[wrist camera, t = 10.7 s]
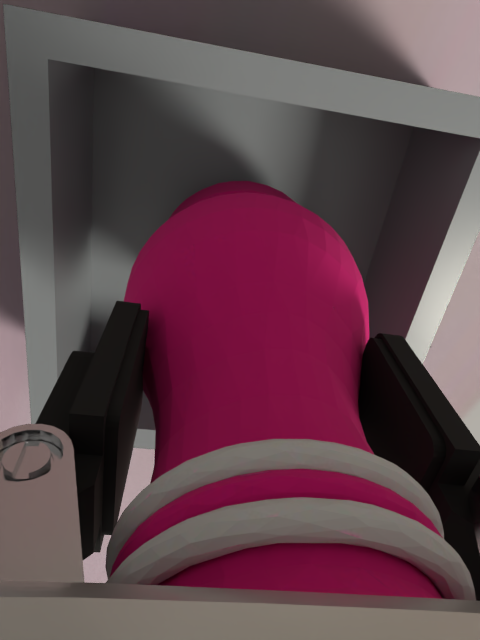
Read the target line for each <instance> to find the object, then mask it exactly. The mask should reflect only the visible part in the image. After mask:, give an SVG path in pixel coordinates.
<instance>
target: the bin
mask: <svg viewBox="0 0 480 640" xmlns="http://www.w3.org/2000/svg"><path fill="white" fill-rule="evenodd" d="M3 10H4V25H5V40H6V55H7V70H8V85H9V100H10V114H11V129H12V144H13V159H14V174H15V189H16V204H17V219H18V233H19V248H20V263H21V278H22V293H23V308H24V323H25V338H26V352H27V367H28V382H29V397H30V412H31V424H35V423H36V421H37V419H38V417H39V415H40V413H41V411H42V409H43V407H44V406H45V404H46V402H47V400H48V398H49V396H50V394H51V392H52V390H53V388H54V386H55V384H56V382H57V380H58V378H59V376H60V374H61V372H62V370H63V368H64V366H65V364H66V362H67V360H68V358H69V356H70V354H71V353H72V351H83V352H92V353H95V351H96V348H97V346H98V343H99V341H100V339H101V336H102V334H103V332H104V329H105V327H106V325H107V322H108V320H109V317H110V315H111V313H112V310H113V308H114V306H115V303H116V301H124V297H125V293H126V288H127V283H128V280H129V276H130V273H131V269H132V267H133V264H134V262H135V260H136V258H137V256H138V254H139V252H140V251H141V249H142V248H143V246H144V245H145V244H146V242H147V241H148V239H149V238H150V237H151V236H152V235H153V234H154V232H155V231H156V230H157V229H158V228H159V227H160V226H161V225H163V224H164V223H165V222H166V221H167V220H168V219H169V218H170V216H171V215H172V213H173V212H174V211H175V210H176V208H177V207H178V206H179V205H180V204H181V203H182V202H184V201H185V200H186V199H187V198H189V197H190V196H192V195H193V194H195V193H196V192H198V191H200V190H202V189H204V188H207V187H210V186H212V185H215V184H217V183H223V182H229V181H250V182H255V183H260V184H264V185H268V186H270V187H272V188H274V189H277V190H279V191H281V192H283V193H284V194H286V195H287V196H288V197H290V198H291V199H292V200H294V201H295V202H296V203H297V204H299V205H301V206H303V207H304V208H306V209H308V210H310V211H311V212H313V213H315V214H316V215H318V216H319V217H320V218H322V219H323V220H324V221H325V222H326V223H328V224H329V225H330V226H331V227H332V228H333V229H334V230H335V231H336V232H337V234H338V235H339V236H340V237H341V238H342V240H343V241H344V242H345V244H346V246H347V247H348V249H349V251H350V253H351V254H352V256H353V258H354V260H355V263H356V265H357V267H358V269H359V271H360V274H361V276H362V279H363V283H364V287H365V291H366V295H367V299H368V310H369V339H370V338H375V336H376V335H377V334H378V333H383V334H392V335H400V336H402V337H404V339H405V340H406V341H407V343H408V344H409V346H410V347H411V349H412V350H413V351H414V353H415V354H416V356H417V357H418V359H419V360H420V361H421V363H422V364H423V362H424V360H425V357H426V355H427V353H428V350H429V348H430V346H431V343H432V341H433V339H434V336H435V334H436V331H437V329H438V327H439V324H440V322H441V320H442V317H443V315H444V313H445V310H446V308H447V306H448V303H449V301H450V299H451V296H452V294H453V292H454V289H455V287H456V285H457V282H458V280H459V278H460V275H461V273H462V271H463V268H464V266H465V264H466V261H467V259H468V257H469V254H470V252H471V250H472V247H473V245H474V243H475V240H476V238H477V236H478V233H479V231H480V97H478V96H473V95H467V94H462V93H457V92H452V91H447V90H442V89H437V88H432V87H427V86H421V85H416V84H411V83H406V82H401V81H396V80H391V79H386V78H381V77H375V76H370V75H365V74H360V73H355V72H350V71H345V70H340V69H335V68H329V67H324V66H319V65H314V64H309V63H304V62H299V61H294V60H289V59H283V58H278V57H273V56H268V55H263V54H258V53H253V52H248V51H242V50H237V49H232V48H227V47H222V46H217V45H212V44H207V43H202V42H196V41H191V40H186V39H181V38H176V37H171V36H166V35H161V34H156V33H150V32H145V31H140V30H135V29H130V28H125V27H120V26H115V25H110V24H104V23H99V22H94V21H89V20H84V19H79V18H74V17H69V16H64V15H58V14H53V13H48V12H43V11H38V10H33V9H28V8H23V7H18V6H12V5H7V4H3ZM155 434H156V429H155V423H154V417H153V411H152V408H151V405H150V403H149V400H148V398H147V396H146V395H145V393H144V391H143V397H142V406H141V413H140V418H139V423H138V427H137V432H136V437H135V441H134V446H133V448H143V449H155Z"/></svg>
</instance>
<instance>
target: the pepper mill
mask: <svg viewBox="0 0 480 640" xmlns="http://www.w3.org/2000/svg"><path fill="white" fill-rule="evenodd" d="M124 302H132V303H140V304H141V310H148V311H149V322H148V331H147V338H146V346H145V355H144V365H143V374H142V375H143V391H144V393H145V395H146V396H147V398H148V400H149V403H150V405H151V408H152V411H153V417H154V423H155V429H156V434H155V465H154V471H153V475H152V479H151V483H150V485H148V486H147V487H146V488H145V489H143V490H142V491H141V492H140V493H139V494H138V495H137V496H136V498H135V499H134V500H133V501H132V502H131V503H130V504H129V506H128V507H127V508H126V509H125V510H124V512H123V513H122V515H121V517H120V518H119V520H118V522H117V524H116V526H115V528H114V530H113V533H112V536H111V539H110V541H109V544H108V547H107V555H106V572H107V577H108V581H107V582H106V583H115V584H138V585H161V586H184V587H207V588H230V589H253V590H275V591H296V592H317V593H338V594H358V595H378V596H398V597H418V598H438V599H456V600H474V601H476V596H475V589H474V586H473V582H472V579H471V575H470V572H469V571H468V569H467V567H466V566H465V564H464V562H463V561H462V559H461V557H460V556H459V554H458V553H457V552H456V551H455V550H454V549H453V548H452V546H450V545H449V544H448V543H447V542H446V541H445V540H444V531H443V526H442V522H441V518H440V515H439V512H438V510H437V508H436V506H435V505H434V503H433V501H432V500H431V498H430V496H429V495H428V493H427V492H426V491H425V490H424V489H423V488H422V486H421V485H420V484H419V483H418V482H417V481H415V480H414V479H413V478H412V477H411V476H410V475H409V474H408V473H407V472H405V471H404V470H402V469H401V468H400V467H398V466H397V465H395V464H393V463H391V462H389V461H387V460H385V459H383V458H381V457H378V456H376V455H374V453H373V451H372V450H371V448H370V446H369V445H368V443H367V441H366V438H365V434H364V431H363V428H362V425H361V422H360V419H359V407H358V398H359V390H360V378H361V367H362V355H363V352H364V349H365V347H366V344H367V341H368V340H369V310H368V299H367V295H366V291H365V287H364V283H363V279H362V276H361V274H360V271H359V269H358V267H357V265H356V263H355V260H354V258H353V256H352V254H351V253H350V251H349V249H348V247H347V246H346V244H345V242H344V241H343V240H342V238H341V237H340V236H339V235H338V234H337V232H336V231H335V230H334V229H333V228H332V227H331V226H330V225H329V224H328V223H326V222H325V221H324V220H323V219H322V218H320V217H319V216H318V215H316V214H315V213H313V212H311V211H310V210H308V209H306V208H304V207H303V206H301V205H299V204H297V203H296V202H295V201H294V200H292V199H291V198H290V197H288V196H287V195H286V194H284V193H283V192H281V191H279V190H277V189H274V188H272V187H270V186H268V185H264V184H260V183H255V182H250V181H229V182H223V183H217V184H215V185H212V186H210V187H207V188H204V189H202V190H200V191H198V192H196V193H195V194H193V195H192V196H190V197H189V198H187V199H186V200H185V201H184V202H182V203H181V204H180V205H179V206H178V207H177V208H176V210H175V211H174V212H173V213H172V215H171V216H170V218H169V219H168V220H167V221H166V222H165V223H164V224H163V225H161V226H160V227H159V228H158V229H157V230H156V231H155V232H154V234H153V235H152V236H151V237H150V238H149V239H148V241H147V242H146V244H145V245H144V246H143V248H142V249H141V251H140V252H139V254H138V256H137V258H136V260H135V262H134V264H133V267H132V269H131V273H130V276H129V280H128V283H127V288H126V293H125V297H124Z"/></svg>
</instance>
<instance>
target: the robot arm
mask: <svg viewBox="0 0 480 640" xmlns="http://www.w3.org/2000/svg"><path fill="white" fill-rule="evenodd" d="M148 322H149V311H148V310H141V304H140V303H132V302H124V301H116V303H115V306H114V308H113V310H112V313H111V315H110V317H109V320H108V322H107V325H106V327H105V329H104V332H103V334H102V336H101V339H100V341H99V343H98V346H97V348H96V351H95V353H92V352H83V351H72V353H71V354H70V356H69V358H68V360H67V362H66V364H65V366H64V368H63V370H62V372H61V374H60V376H59V378H58V380H57V382H56V384H55V386H54V388H53V390H52V392H51V394H50V396H49V398H48V400H47V402H46V404H45V406H44V407H43V409H42V411H41V413H40V415H39V417H38V419H37V421H36V423H35V424H25V425H20V426H16V427H12V428H10V429H7V430H5V431H2V432H0V640H480V445H479V444H478V443H477V441H476V440H475V439H474V437H473V436H472V434H471V433H470V431H469V430H468V429H467V427H466V426H465V424H464V423H463V421H462V420H461V418H460V417H459V416H458V414H457V413H456V411H455V410H454V408H453V407H452V406H451V404H450V403H449V401H448V400H447V398H446V397H445V396H444V394H443V393H442V391H441V390H440V389H439V387H438V386H437V384H436V383H435V381H434V380H433V379H432V377H431V376H430V374H429V373H428V371H427V370H426V369H425V367H424V366H423V364H422V363H421V361H420V360H419V359H418V357H417V356H416V354H415V353H414V351H413V350H412V349H411V347H410V346H409V344H408V343H407V341H406V340H405V339H404V337H402V336H400V335H392V334H383V333H378V334H377V335H376V336H375V338H370V339H369V340H368V341H367V344H366V347H365V349H364V352H363V355H362V367H361V378H360V390H359V398H358V407H359V419H360V422H361V425H362V428H363V431H364V434H365V438H366V441H367V443H368V445H369V446H370V448H371V450H372V451H373V453H374V455H376V456H378V457H381V458H383V459H385V460H387V461H389V462H391V463H393V464H395V465H397V466H398V467H400V468H401V469H402V470H404V471H405V472H407V473H408V474H409V475H410V476H411V477H412V478H413V479H414V480H415V481H417V482H418V483H419V484H420V485H421V486H422V488H423V489H424V490H425V491H426V492H427V493H428V495H429V496H430V498H431V500H432V501H433V503H434V505H435V506H436V508H437V510H438V512H439V515H440V518H441V522H442V526H443V531H444V540H445V541H446V542H447V543H448V544H449V545H450V546H452V548H453V549H454V550H455V551H456V552H457V553H458V554H459V556H460V557H461V559H462V561H463V562H464V564H465V566H466V567H467V569H468V571H469V572H470V575H471V579H472V582H473V586H474V589H475V596H476V601H474V600H456V599H438V598H418V597H398V596H378V595H358V594H338V593H317V592H296V591H275V590H253V589H230V588H207V587H184V586H161V585H138V584H115V583H84V573H83V560H84V559H85V558H87V557H88V556H90V555H91V554H93V552H100V550H101V546H102V541H103V537H104V535H112V533H113V530H114V528H115V526H116V524H117V520H118V516H119V511H120V506H121V502H122V497H123V492H124V488H125V483H126V478H127V474H128V469H129V464H130V460H131V455H132V450H133V446H134V441H135V437H136V432H137V427H138V423H139V418H140V413H141V406H142V397H143V375H142V374H143V365H144V355H145V346H146V338H147V331H148Z"/></svg>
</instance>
